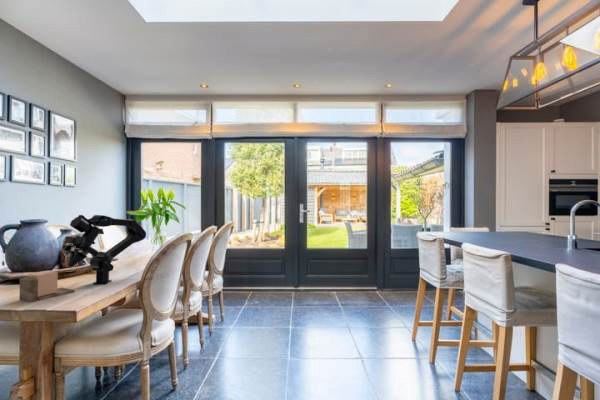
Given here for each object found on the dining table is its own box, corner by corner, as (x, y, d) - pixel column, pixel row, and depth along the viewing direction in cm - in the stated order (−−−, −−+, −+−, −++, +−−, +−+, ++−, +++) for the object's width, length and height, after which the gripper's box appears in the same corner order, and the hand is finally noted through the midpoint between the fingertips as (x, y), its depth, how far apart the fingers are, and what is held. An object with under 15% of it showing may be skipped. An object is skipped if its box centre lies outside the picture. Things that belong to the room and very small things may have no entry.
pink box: (48, 290, 150) (49, 270, 150) (57, 292, 147) (57, 271, 147) (28, 295, 142) (28, 274, 142) (37, 297, 140) (37, 275, 140)
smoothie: (73, 273, 188) (73, 238, 187) (58, 273, 188) (59, 237, 188) (83, 270, 196) (83, 236, 196) (69, 270, 196) (69, 235, 196)
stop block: (61, 289, 156) (62, 270, 156) (74, 292, 153) (74, 272, 153) (18, 299, 140) (18, 278, 140) (30, 302, 137) (31, 280, 137)
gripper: (62, 228, 161) (41, 257, 152) (88, 229, 153) (67, 260, 145) (81, 239, 169) (62, 268, 161) (106, 241, 162) (88, 271, 153)
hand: (69, 267), depth 155 cm, fingers closed
